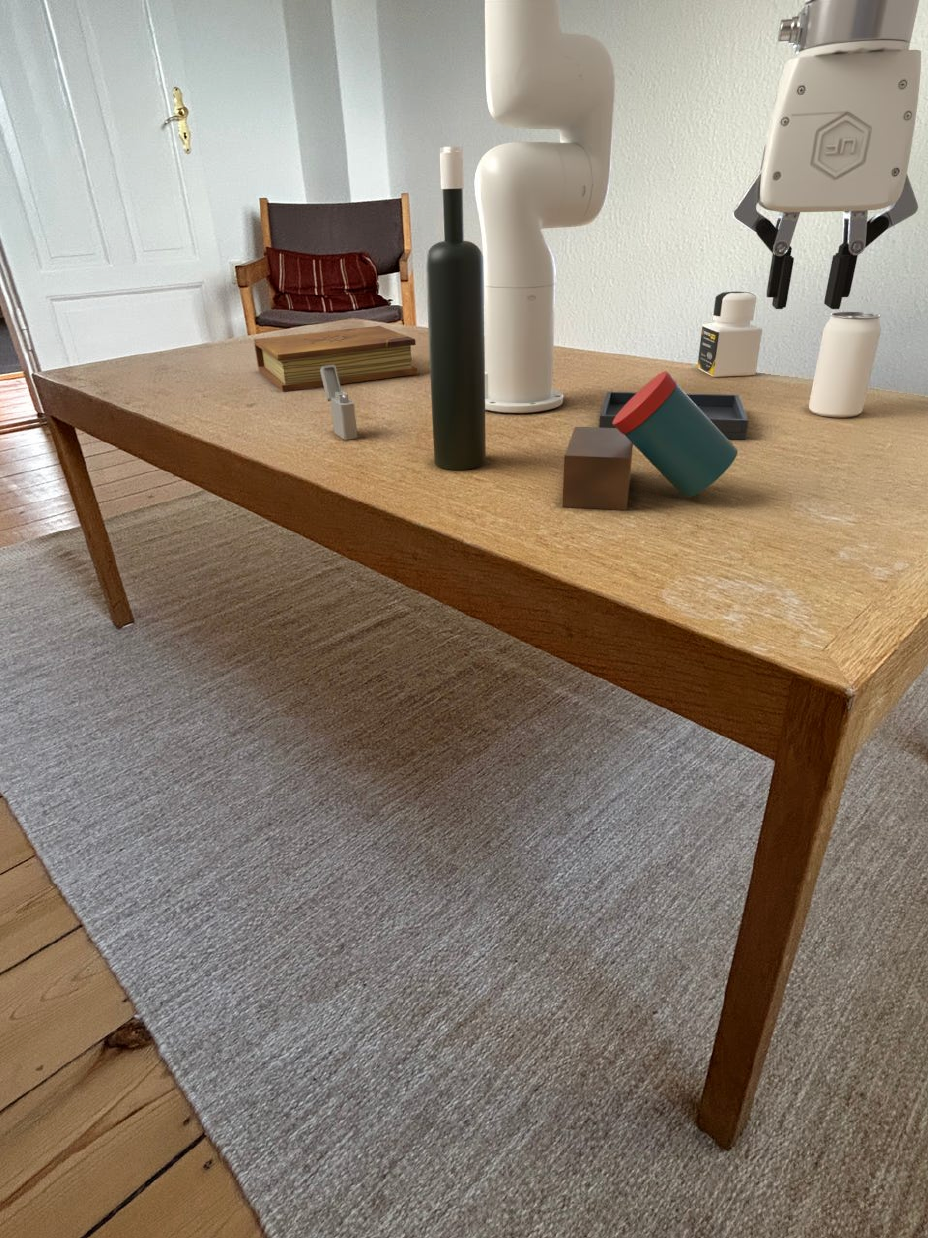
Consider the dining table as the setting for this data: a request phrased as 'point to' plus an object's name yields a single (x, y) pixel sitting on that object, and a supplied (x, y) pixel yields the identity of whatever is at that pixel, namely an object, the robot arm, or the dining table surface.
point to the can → (845, 364)
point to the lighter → (339, 404)
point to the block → (597, 469)
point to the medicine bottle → (730, 337)
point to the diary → (334, 356)
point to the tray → (716, 407)
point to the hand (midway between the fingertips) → (805, 304)
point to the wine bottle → (456, 330)
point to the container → (675, 435)
